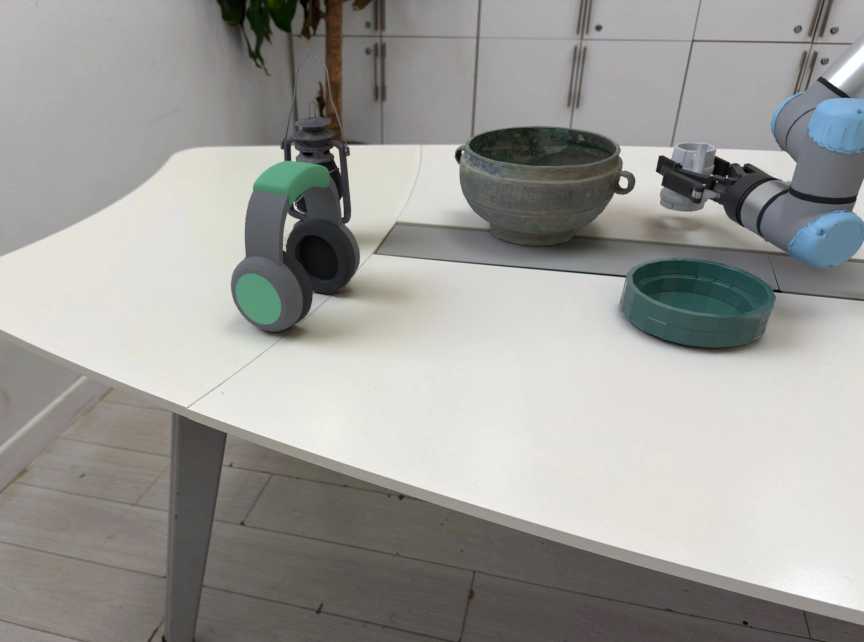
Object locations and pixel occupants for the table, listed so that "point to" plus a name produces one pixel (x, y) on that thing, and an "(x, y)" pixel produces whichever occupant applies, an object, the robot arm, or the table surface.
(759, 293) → the dish
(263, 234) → the headphones
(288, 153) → the lantern
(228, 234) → the table surface
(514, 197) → the bowl
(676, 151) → the mug
